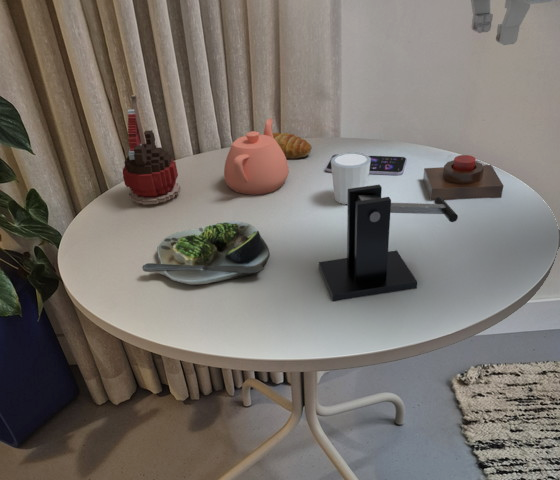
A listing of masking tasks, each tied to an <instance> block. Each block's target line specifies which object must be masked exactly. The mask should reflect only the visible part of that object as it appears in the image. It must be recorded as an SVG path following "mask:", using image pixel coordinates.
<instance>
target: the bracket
mask: <svg viewBox="0 0 560 480" xmlns="http://www.w3.org/2000/svg"><path fill="white" fill-rule="evenodd" d="M358 195H378V196H379V198H377V199H370V200H363V201H357V197H358ZM391 203H392V199H391V198H390V196H383V197H382V186H381V185H380V184H374V185H373V184H372V185H368V186H365V187H358V188H351V189H348V205H347V215H346V216H347V224H346V225H347V226H346V227H347V229H346V230H347V231H346V232H347V234H346V236H347V237H346V257H344V258H336V259H330V260H323V261H318V270H319V272H320V274H321V277H322V280H323V282H324V285H325V286H326V289H327V291H328V293H329V296H330V298H331V300H332V302H338V301H344V300H350V299H357V298H364V297H370V296H376V295H377V296H378V295H383V294H391V293H396V292H397V293H398V292H403V291H409V290H415V289H417V288H418V281H417V279H416V277H415V276H414V274H413V273H412V271H411V269H410V268H409V267H408V264H407V263H406V262H405V260H404V259H403V258H402V256H401V254H400V253H399V251H398V250H391V251H390V250H389V243H390V242H389V241H390V227H391V226H390V225H391V213H390V211H391Z"/></svg>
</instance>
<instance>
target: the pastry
mask: <svg viewBox="0 0 560 480" xmlns="http://www.w3.org/2000/svg"><path fill="white" fill-rule="evenodd" d="M272 134H273V138H274V139H275V140H276V142H277V143H278V145H279V146H280V148H281V149H282V151H283V153H284V155H285V157H286V159H291V160H292V159H294V160H297V159H299V158H305V157H307V156H308V155H310V154H311V152H312V149H313V146H312V144H310V143H309V142H308V141H307V140H306V139H304V138H301V136H296V134H294V133H288V132H283V133H280V132H272Z"/></svg>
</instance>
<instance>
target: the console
mask: <svg viewBox="0 0 560 480" xmlns="http://www.w3.org/2000/svg"><path fill="white" fill-rule="evenodd" d="M453 164H454V159H453V160H450V161H447V162H446V163H445V164H444V165H443V167H424V168H423V176H422V177H423V178H422V180H423V183H424V187H425V189H426V192H427V194H428V195H427V196H428V198H429V201H430V202H434V200H435V199H436V198H437V197H441V198H442V199H443V200H444V201H453V200H468V199H469V200H470V199H499V198H502V195H503V190H504V183H503V182H502V180H501V178H500V177H499V175H498V174H497V172H496V171H495V168H494V167H493V165H492V164H483V163H481V162H479V161H477V160H476V162H475V168H474V170H472V171H457V170H455V169H453Z"/></svg>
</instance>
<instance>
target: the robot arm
mask: <svg viewBox="0 0 560 480" xmlns="http://www.w3.org/2000/svg"><path fill="white" fill-rule="evenodd" d="M556 1H558V0H505V3H504V9H506V11H505V14H504V17H503V19H502V21H501V24H500V23H499V24H497V29H496V36H495V41H496V42H497V43H499V44H500V45H503V46H509V45H514V44H516V42H517V41H518V37H519V32H520V26H521V25H522V23H523V21H524V19H525V17H526V16H527V14H528V12H529V10H530V9H531V5H533V4H544V3H550V2H556ZM470 3H471V4H470V5H471V10H472V21H471V30H472V31H473V32H476V33H479V34H482V33H488V32H490V31H491V29H492V22H493V17H494V14H493V13H491V0H470Z"/></svg>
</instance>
